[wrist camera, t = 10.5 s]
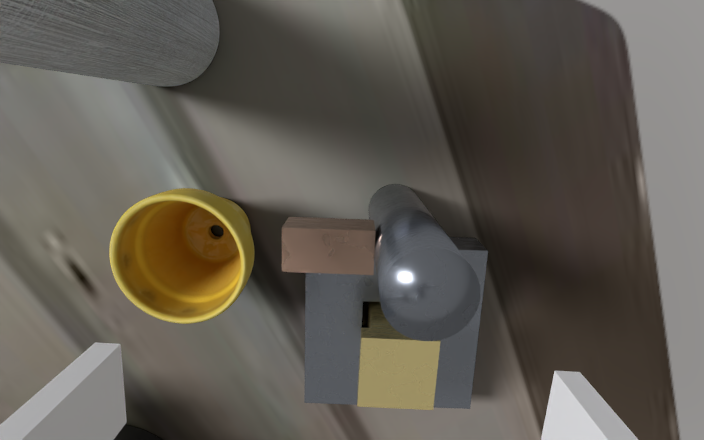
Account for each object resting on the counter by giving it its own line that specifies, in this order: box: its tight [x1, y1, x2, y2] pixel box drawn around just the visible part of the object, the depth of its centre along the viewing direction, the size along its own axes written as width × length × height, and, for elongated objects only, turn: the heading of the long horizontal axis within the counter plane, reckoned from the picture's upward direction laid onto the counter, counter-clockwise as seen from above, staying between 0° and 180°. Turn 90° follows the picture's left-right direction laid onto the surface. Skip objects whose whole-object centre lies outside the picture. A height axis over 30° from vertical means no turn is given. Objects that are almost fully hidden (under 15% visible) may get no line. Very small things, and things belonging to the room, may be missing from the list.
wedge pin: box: [357, 302, 441, 410], centre depth 38 cm, size 6×6×11 cm
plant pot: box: [109, 188, 254, 324], centre depth 37 cm, size 10×10×10 cm
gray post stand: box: [282, 184, 488, 409], centre depth 33 cm, size 16×21×20 cm
